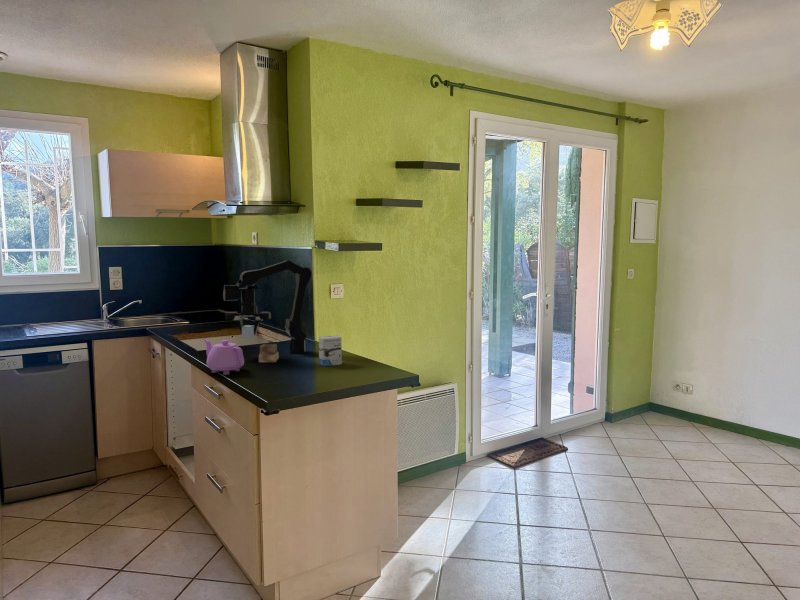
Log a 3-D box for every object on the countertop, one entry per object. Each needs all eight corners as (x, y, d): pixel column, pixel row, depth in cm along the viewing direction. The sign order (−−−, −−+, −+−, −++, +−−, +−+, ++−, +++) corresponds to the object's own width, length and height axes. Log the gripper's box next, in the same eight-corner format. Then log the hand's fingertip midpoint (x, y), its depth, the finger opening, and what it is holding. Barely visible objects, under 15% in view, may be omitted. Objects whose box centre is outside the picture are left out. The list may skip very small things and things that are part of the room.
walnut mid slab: (276, 351, 243) (276, 343, 242) (274, 354, 237) (274, 346, 236) (263, 351, 243) (262, 343, 242) (260, 354, 237) (259, 346, 236)
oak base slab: (278, 359, 244) (278, 351, 243) (275, 362, 237) (275, 354, 236) (262, 359, 244) (262, 351, 243) (258, 362, 237) (258, 354, 236)
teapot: (191, 372, 219) (190, 340, 217) (218, 364, 231) (217, 335, 230) (230, 378, 210) (229, 345, 209) (255, 370, 223) (255, 339, 221)
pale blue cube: (255, 336, 249) (255, 325, 249) (253, 338, 244) (253, 327, 244) (244, 336, 249) (244, 325, 249) (241, 338, 244) (241, 327, 244)
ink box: (322, 366, 229) (322, 338, 228) (318, 364, 234) (318, 336, 232) (342, 364, 233) (341, 336, 232) (337, 362, 237) (337, 334, 236)
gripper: (273, 297, 253) (273, 331, 255) (231, 297, 252) (232, 331, 254) (268, 300, 242) (268, 336, 244) (224, 300, 241) (225, 336, 243)
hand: (249, 334), depth 247 cm, fingers closed on pale blue cube, 5 cm apart
